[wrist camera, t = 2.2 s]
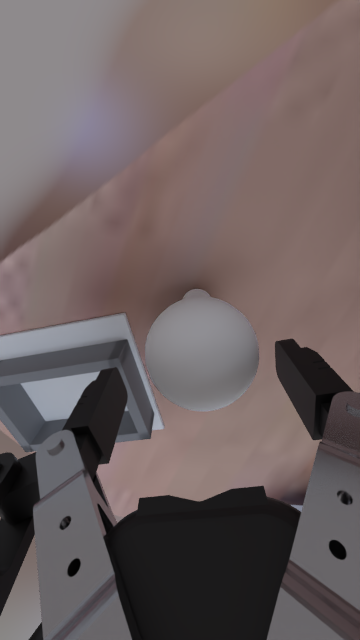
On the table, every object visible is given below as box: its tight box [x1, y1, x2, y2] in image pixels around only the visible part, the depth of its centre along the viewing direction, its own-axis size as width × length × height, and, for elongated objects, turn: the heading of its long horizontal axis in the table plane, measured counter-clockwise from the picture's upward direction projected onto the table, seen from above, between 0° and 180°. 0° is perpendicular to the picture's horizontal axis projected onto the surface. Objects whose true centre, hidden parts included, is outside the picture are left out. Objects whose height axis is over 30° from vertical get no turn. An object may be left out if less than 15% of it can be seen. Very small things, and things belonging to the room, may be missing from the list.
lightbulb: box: [145, 289, 259, 411], centre depth 15 cm, size 6×6×11 cm
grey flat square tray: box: [0, 313, 164, 452], centre depth 23 cm, size 15×15×3 cm
